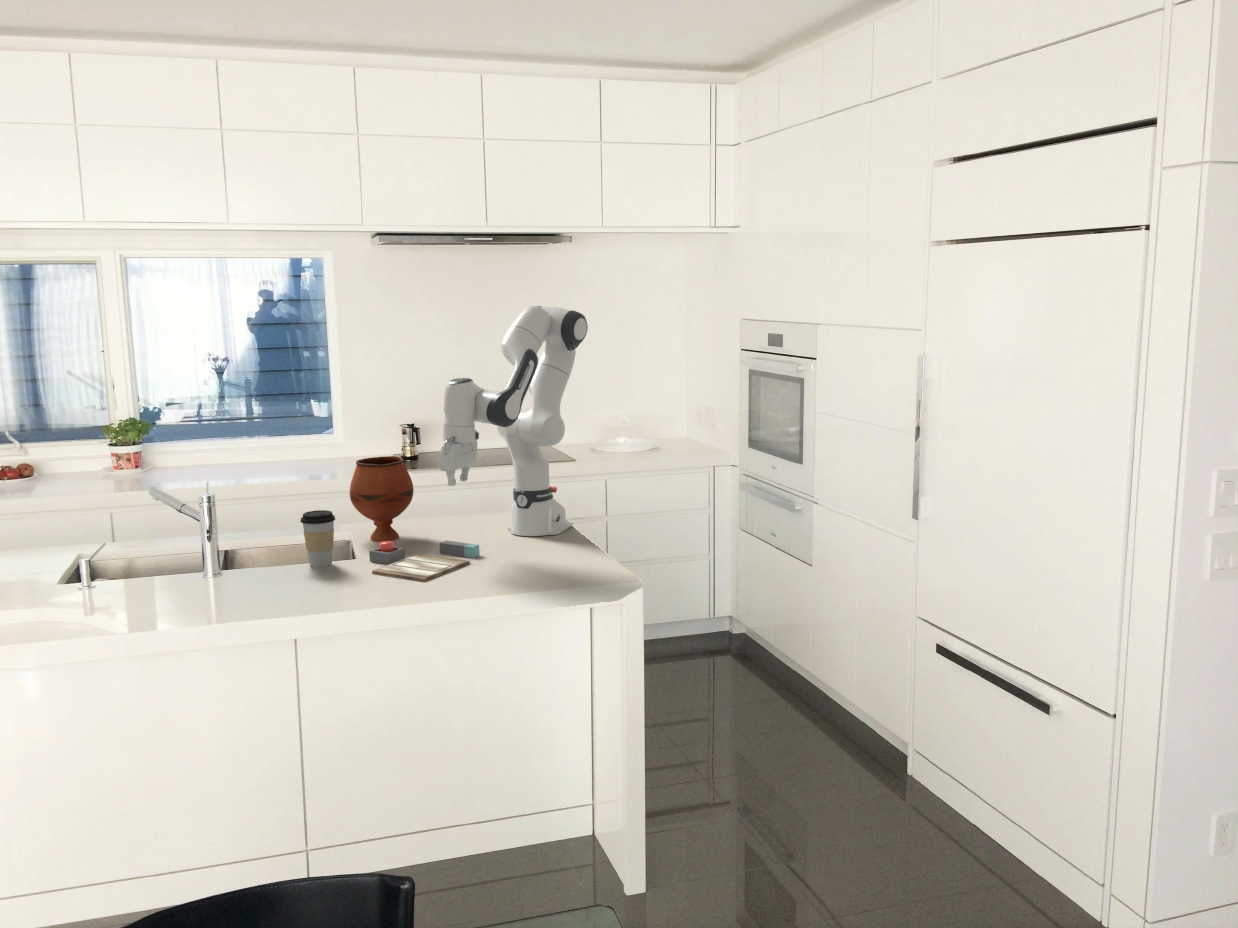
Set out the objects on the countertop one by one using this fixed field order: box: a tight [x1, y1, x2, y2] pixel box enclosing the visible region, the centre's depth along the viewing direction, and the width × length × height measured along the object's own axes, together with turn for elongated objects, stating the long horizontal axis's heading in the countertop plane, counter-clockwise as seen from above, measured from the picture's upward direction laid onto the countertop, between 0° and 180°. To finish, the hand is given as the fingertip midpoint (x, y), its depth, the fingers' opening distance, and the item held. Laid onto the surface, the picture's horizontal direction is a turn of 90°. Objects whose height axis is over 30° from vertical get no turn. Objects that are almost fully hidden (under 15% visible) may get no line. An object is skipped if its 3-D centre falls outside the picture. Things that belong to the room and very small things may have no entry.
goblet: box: [349, 455, 414, 543], centre depth 312 cm, size 19×19×25 cm
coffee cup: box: [300, 509, 336, 569], centre depth 282 cm, size 9×9×15 cm
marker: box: [438, 540, 480, 559], centre depth 294 cm, size 12×3×3 cm, turn 61°
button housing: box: [368, 546, 406, 565], centre depth 289 cm, size 7×7×3 cm
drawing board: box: [371, 553, 471, 583], centre depth 279 cm, size 20×18×1 cm
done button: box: [379, 540, 395, 553], centre depth 288 cm, size 4×4×3 cm
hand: (457, 483), depth 289 cm, fingers open, 8 cm apart
